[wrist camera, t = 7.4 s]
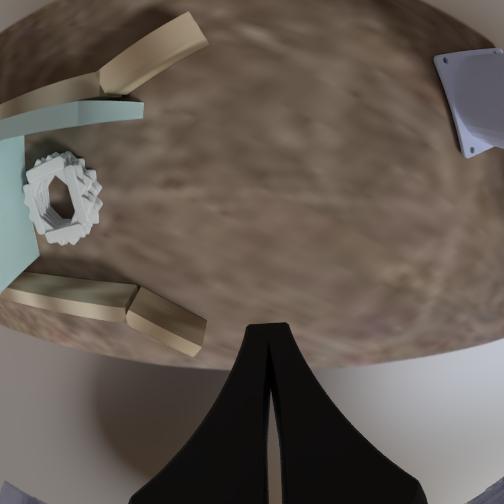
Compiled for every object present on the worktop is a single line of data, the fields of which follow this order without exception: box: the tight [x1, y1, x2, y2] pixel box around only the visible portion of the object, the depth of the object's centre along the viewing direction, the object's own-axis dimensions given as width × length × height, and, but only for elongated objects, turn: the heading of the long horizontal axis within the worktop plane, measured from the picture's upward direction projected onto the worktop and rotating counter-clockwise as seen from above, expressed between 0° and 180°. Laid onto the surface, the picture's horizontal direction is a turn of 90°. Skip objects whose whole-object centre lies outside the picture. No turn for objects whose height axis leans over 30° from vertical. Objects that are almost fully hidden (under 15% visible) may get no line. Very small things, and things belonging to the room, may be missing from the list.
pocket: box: [0, 11, 209, 357], centre depth 16 cm, size 21×23×3 cm
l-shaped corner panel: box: [0, 101, 144, 294], centre depth 14 cm, size 12×12×8 cm
